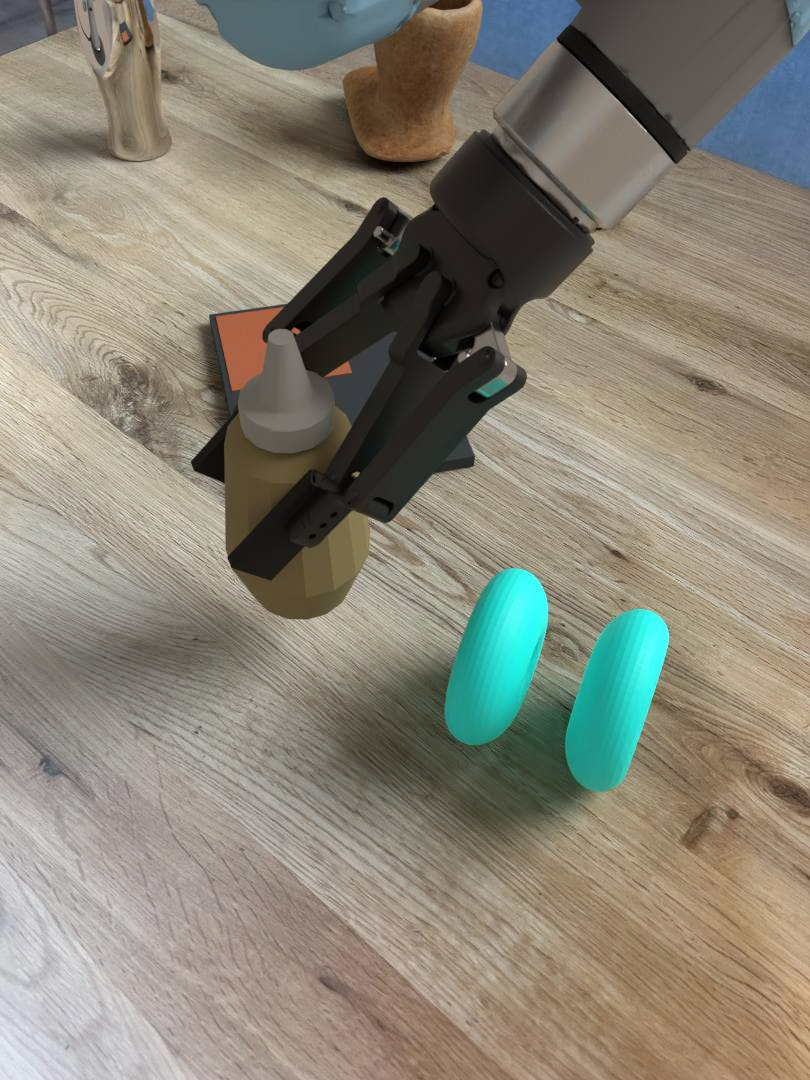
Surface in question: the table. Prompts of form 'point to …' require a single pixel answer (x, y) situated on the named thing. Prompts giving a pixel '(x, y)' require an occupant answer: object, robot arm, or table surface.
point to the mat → (349, 382)
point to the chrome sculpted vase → (126, 73)
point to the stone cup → (413, 84)
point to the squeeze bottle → (289, 479)
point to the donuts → (509, 664)
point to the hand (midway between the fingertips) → (230, 519)
